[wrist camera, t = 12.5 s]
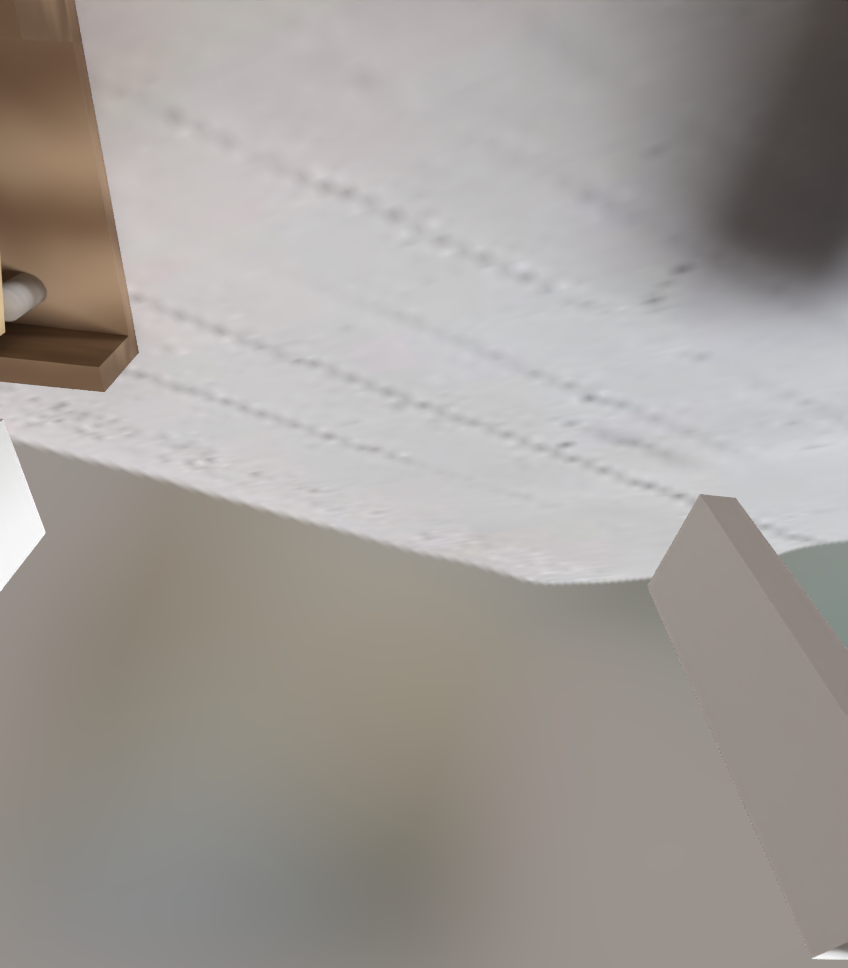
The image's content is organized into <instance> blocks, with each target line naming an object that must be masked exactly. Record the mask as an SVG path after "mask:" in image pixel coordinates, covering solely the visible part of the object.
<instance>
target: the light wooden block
mask: <svg viewBox="0 0 848 968" xmlns="http://www.w3.org/2000/svg"><path fill="white" fill-rule="evenodd" d="M3 333H5V321H4V305H3V290H2V274H1V258H0V335H2V334H3Z"/></svg>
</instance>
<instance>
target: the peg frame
mask: <svg viewBox="0 0 848 968" xmlns="http://www.w3.org/2000/svg"><path fill="white" fill-rule="evenodd" d="M0 258H1V274H2V290H3V305H4V321H5V333H3V334H2V335H0V382H10V383H20V384H30V385H40V386H50V387H60V388H70V389H80V390H89V391H99V392H105V391H106V390H107V389H108V387H109V386H110V385H111V384H112V383H113V382H114V381H115V379H116V378H117V377H118V376H119V375H120V374H121V372H122V371H123V370H124V369H125V368H126V367H127V366H128V364H129V363H130V362H131V361H132V360H133V359H134V357H135V356H136V355H137V354H138V353H139V352H138V347H137V341H136V336H135V330H134V325H133V319H132V314H131V308H130V303H129V297H128V292H127V286H126V281H125V275H124V270H123V264H122V259H121V253H120V248H119V242H118V237H117V231H116V226H115V220H114V215H113V209H112V204H111V198H110V193H109V188H108V182H107V177H106V171H105V166H104V160H103V155H102V149H101V144H100V138H99V133H98V127H97V122H96V116H95V111H94V105H93V100H92V94H91V89H90V83H89V78H88V72H87V67H86V61H85V56H84V50H83V45H82V39H81V34H80V28H79V23H78V17H77V12H76V7H75V1H74V0H0Z"/></svg>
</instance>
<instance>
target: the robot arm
mask: <svg viewBox="0 0 848 968" xmlns="http://www.w3.org/2000/svg"><path fill="white" fill-rule="evenodd" d="M45 533H46V532H45V530H44V527H43V525H42V522H41V519H40V516H39V514H38V511H37V508H36V506H35V503H34V500H33V498H32V495H31V492H30V490H29V487H28V484H27V482H26V479H25V476H24V474H23V471H22V468H21V466H20V463H19V460H18V458H17V455H16V452H15V449H14V447H13V444H12V441H11V439H10V436H9V433H8V431H7V428H6V425H5V423H4V420H3V419H0V591H1V590H2V588H3V587H4V586H5V585H6V583H7V582H8V580H10V578H11V577H12V576H13V574H14V573H15V571H17V569H18V568H19V567H20V565H21V564H22V563H23V561H24V560H25V559H26V558H27V556H28V555H29V554H30V552H31V551H32V550H33V548H34V547H35V546H36V545H37V543H38V542H39V541H40V539H41V538H42V537H43V536H44V534H45ZM647 588H648V590H649V592H650V594H651V597H652V599H653V601H654V604H655V606H656V608H657V610H658V612H659V615H660V617H661V619H662V622H663V624H664V626H665V628H666V631H667V633H668V635H669V637H670V640H671V642H672V644H673V646H674V649H675V651H676V653H677V656H678V658H679V660H680V662H681V665H682V667H683V669H684V671H685V673H686V676H687V678H688V680H689V683H690V685H691V687H692V689H693V692H694V694H695V696H696V699H697V701H698V703H699V705H700V708H701V710H702V712H703V714H704V716H705V719H706V721H707V723H708V726H709V728H710V730H711V732H712V735H713V737H714V739H715V742H716V743H717V746H718V748H719V751H720V753H721V755H722V757H723V760H724V762H725V764H726V766H727V768H728V771H729V773H730V775H731V778H732V780H733V782H734V784H735V787H736V789H737V791H738V794H739V796H740V798H741V800H742V803H743V805H744V807H745V809H746V812H747V813H748V816H749V818H750V821H751V823H752V825H753V827H754V830H755V832H756V834H757V836H758V839H759V841H760V843H761V845H762V848H763V850H764V852H765V855H766V857H767V859H768V861H769V864H770V866H771V868H772V870H773V873H774V875H775V877H776V879H777V881H778V884H779V886H780V888H781V891H782V893H783V895H784V898H785V900H786V902H787V904H788V907H789V909H790V911H791V913H792V916H793V918H794V920H795V922H796V925H797V927H798V929H799V931H800V933H801V936H802V938H803V941H804V943H805V945H806V947H807V949H808V952H809V954H810V956H811V958H812V959H848V650H847V649H846V648H845V646H844V645H843V644H842V642H841V641H840V640H839V638H838V637H837V635H836V634H835V633H834V631H833V630H832V629H831V627H830V626H829V624H828V623H827V622H826V621H825V619H824V618H823V616H822V615H821V614H820V612H819V611H818V609H817V608H816V607H815V605H814V604H813V603H812V601H811V600H810V599H809V597H808V596H807V595H806V593H805V592H804V590H803V589H802V588H801V586H800V585H799V584H798V582H797V581H796V580H795V578H794V577H793V575H792V574H791V573H790V571H789V570H788V569H787V567H786V566H785V565H784V563H783V562H782V561H781V559H780V558H779V556H778V555H777V554H776V552H775V551H774V550H773V548H772V547H771V545H770V544H769V543H768V541H767V540H766V539H765V537H764V536H763V535H762V533H761V532H760V530H759V529H758V528H757V526H756V525H755V524H754V522H753V521H752V520H751V518H750V517H749V515H748V514H747V513H746V511H745V510H744V509H743V507H742V506H741V505H740V503H739V502H738V500H737V499H736V498H731V497H721V496H712V495H703V494H700V495H699V497H698V499H697V500H696V502H695V504H694V506H693V507H692V509H691V511H690V513H689V514H688V516H687V518H686V520H685V521H684V523H683V525H682V527H681V528H680V530H679V532H678V534H677V535H676V537H675V539H674V540H673V542H672V544H671V546H670V547H669V549H668V551H667V553H666V554H665V556H664V558H663V560H662V561H661V563H660V565H659V567H658V568H657V570H656V572H655V574H654V575H653V577H652V579H651V581H650V582H649V584H648V586H647Z"/></svg>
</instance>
